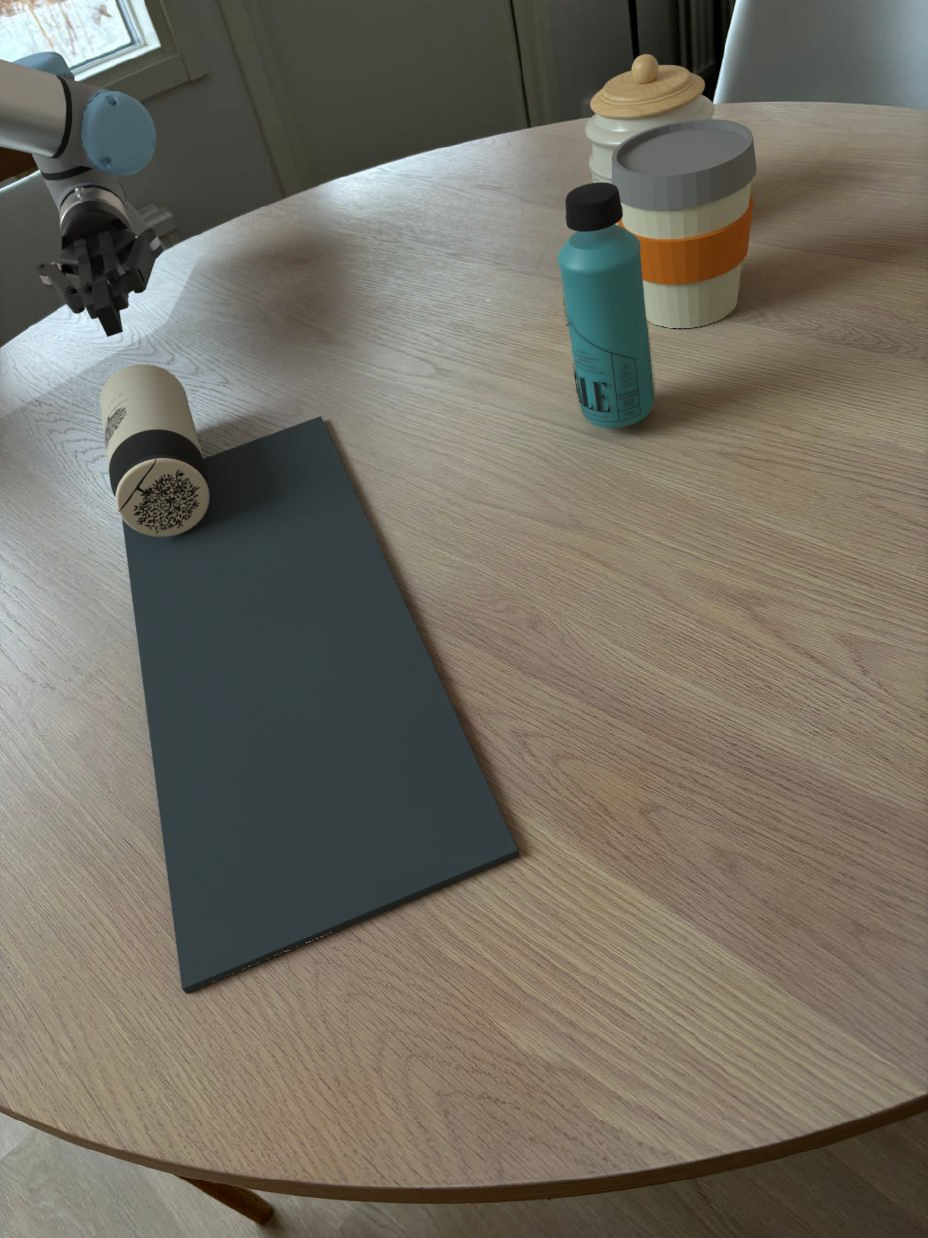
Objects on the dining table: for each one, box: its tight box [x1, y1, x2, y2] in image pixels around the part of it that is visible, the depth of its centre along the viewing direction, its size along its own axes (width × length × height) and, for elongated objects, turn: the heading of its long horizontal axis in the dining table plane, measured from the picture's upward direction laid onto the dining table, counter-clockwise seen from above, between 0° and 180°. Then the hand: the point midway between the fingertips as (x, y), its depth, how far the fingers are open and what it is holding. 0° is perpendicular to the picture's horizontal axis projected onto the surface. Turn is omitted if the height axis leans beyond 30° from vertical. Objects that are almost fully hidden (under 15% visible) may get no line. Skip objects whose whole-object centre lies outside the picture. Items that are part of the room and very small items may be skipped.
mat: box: [121, 416, 520, 994], centre depth 76 cm, size 20×53×1 cm, turn 19°
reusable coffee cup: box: [612, 118, 758, 330], centre depth 93 cm, size 13×13×15 cm
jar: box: [584, 53, 715, 225], centre depth 105 cm, size 13×13×18 cm
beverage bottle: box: [557, 182, 657, 429], centre depth 80 cm, size 6×7×20 cm
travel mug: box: [99, 363, 210, 537], centre depth 90 cm, size 8×8×18 cm
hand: (108, 321), depth 93 cm, fingers closed
